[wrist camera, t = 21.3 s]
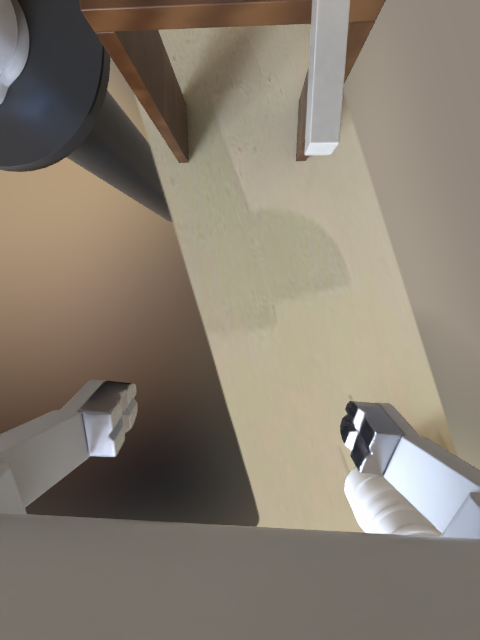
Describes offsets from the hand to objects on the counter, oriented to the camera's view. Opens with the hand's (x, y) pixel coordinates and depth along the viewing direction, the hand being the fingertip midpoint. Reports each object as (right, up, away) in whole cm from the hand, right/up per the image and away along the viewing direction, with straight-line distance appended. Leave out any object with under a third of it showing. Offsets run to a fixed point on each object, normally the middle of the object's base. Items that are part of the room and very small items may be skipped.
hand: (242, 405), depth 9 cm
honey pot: (+28, -31, +39) cm, 57 cm away
